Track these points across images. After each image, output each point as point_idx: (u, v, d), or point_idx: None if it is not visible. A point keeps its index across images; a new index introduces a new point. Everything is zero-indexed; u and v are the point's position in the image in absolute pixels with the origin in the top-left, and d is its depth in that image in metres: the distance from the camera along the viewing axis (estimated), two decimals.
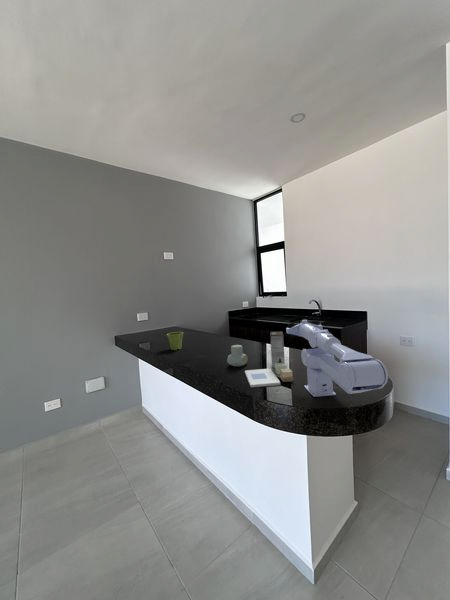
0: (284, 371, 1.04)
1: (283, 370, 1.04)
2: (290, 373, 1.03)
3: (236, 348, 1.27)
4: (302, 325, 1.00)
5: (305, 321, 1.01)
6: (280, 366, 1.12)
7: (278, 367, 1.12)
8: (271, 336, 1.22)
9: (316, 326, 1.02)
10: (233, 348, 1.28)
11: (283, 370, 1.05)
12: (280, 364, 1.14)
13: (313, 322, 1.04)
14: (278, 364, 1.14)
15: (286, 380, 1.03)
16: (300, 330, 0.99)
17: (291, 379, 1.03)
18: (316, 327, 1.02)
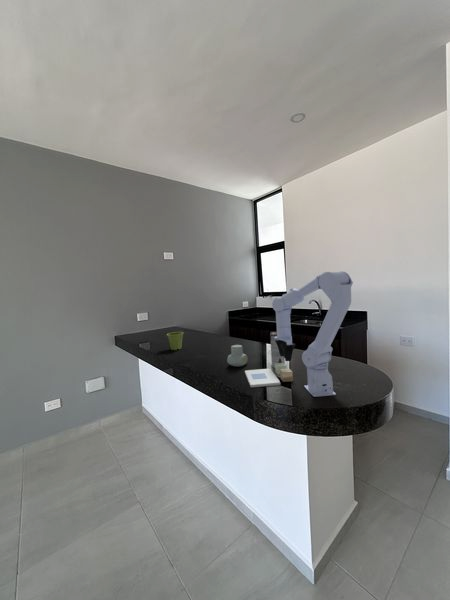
0: (284, 371, 1.04)
1: (283, 370, 1.04)
2: (290, 373, 1.03)
3: (236, 348, 1.27)
4: (279, 333, 1.02)
5: (275, 337, 1.04)
6: (280, 366, 1.12)
7: (278, 367, 1.12)
8: (271, 336, 1.22)
9: None
10: (233, 348, 1.28)
11: (283, 370, 1.05)
12: (280, 364, 1.14)
13: (276, 340, 1.09)
14: (278, 364, 1.14)
15: (286, 380, 1.03)
16: (284, 332, 1.01)
17: (291, 379, 1.03)
18: None
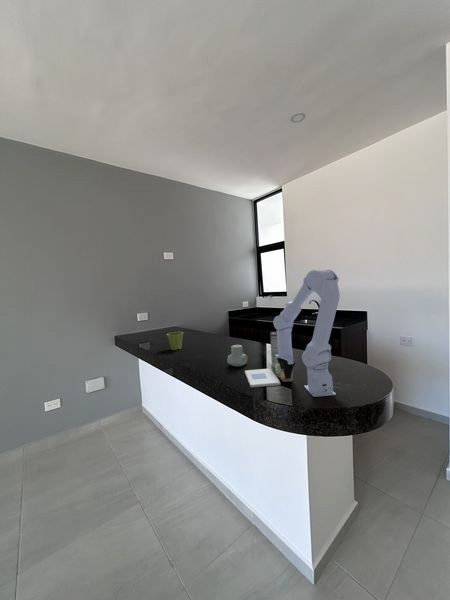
0: None
1: (283, 370, 1.04)
2: None
3: (236, 348, 1.27)
4: (280, 352, 1.03)
5: (277, 355, 1.05)
6: None
7: (278, 367, 1.12)
8: (271, 336, 1.22)
9: None
10: (233, 348, 1.28)
11: (283, 370, 1.05)
12: None
13: (278, 358, 1.07)
14: (278, 364, 1.14)
15: (286, 380, 1.03)
16: (285, 351, 1.02)
17: (291, 379, 1.03)
18: None
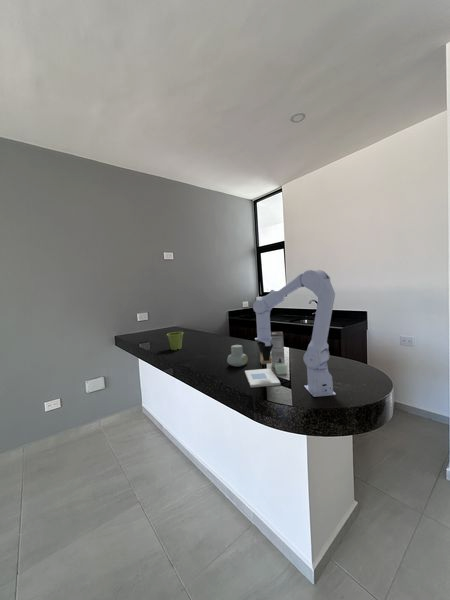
0: None
1: None
2: None
3: (236, 348, 1.27)
4: (259, 335, 1.05)
5: (256, 338, 1.07)
6: (280, 366, 1.12)
7: (278, 367, 1.12)
8: (271, 336, 1.22)
9: None
10: (233, 348, 1.28)
11: None
12: (280, 364, 1.14)
13: (258, 342, 1.10)
14: (278, 364, 1.14)
15: (265, 362, 1.05)
16: (264, 333, 1.04)
17: (270, 361, 1.05)
18: None
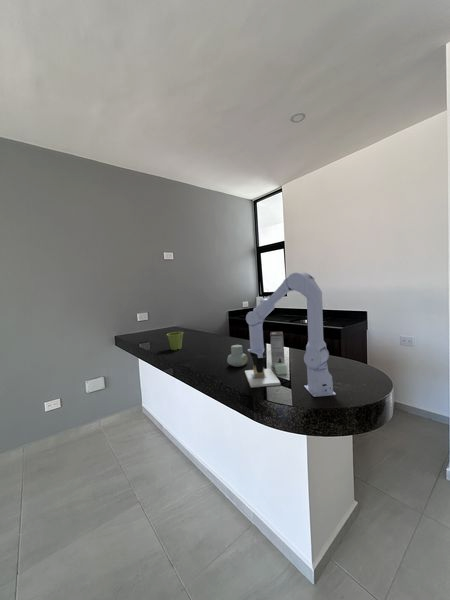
0: None
1: None
2: None
3: (236, 348, 1.27)
4: (252, 346, 1.06)
5: (249, 349, 1.08)
6: (280, 366, 1.12)
7: (278, 367, 1.12)
8: (271, 336, 1.22)
9: None
10: (233, 348, 1.28)
11: None
12: (280, 364, 1.14)
13: (251, 352, 1.12)
14: (278, 364, 1.14)
15: (258, 376, 1.06)
16: (256, 345, 1.05)
17: (263, 375, 1.06)
18: None
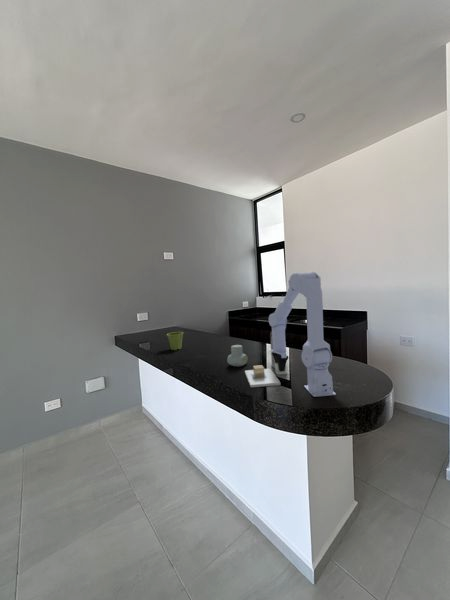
0: (256, 367, 1.07)
1: (256, 367, 1.08)
2: (262, 369, 1.06)
3: (236, 348, 1.27)
4: (275, 347, 1.12)
5: (271, 350, 1.14)
6: None
7: (278, 367, 1.12)
8: (271, 336, 1.22)
9: None
10: (233, 348, 1.28)
11: (256, 366, 1.09)
12: None
13: (273, 353, 1.16)
14: None
15: (258, 376, 1.06)
16: (279, 346, 1.11)
17: (263, 375, 1.06)
18: None
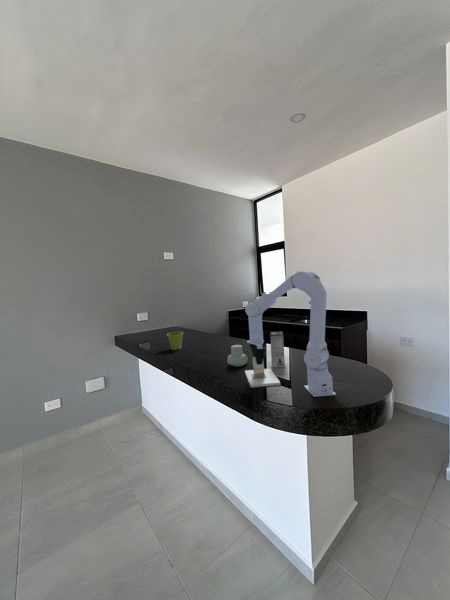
0: None
1: None
2: (262, 369, 1.06)
3: (236, 348, 1.27)
4: (251, 338, 1.06)
5: (248, 341, 1.08)
6: None
7: (255, 360, 1.06)
8: (271, 336, 1.22)
9: None
10: (233, 348, 1.28)
11: None
12: None
13: (250, 344, 1.12)
14: None
15: (258, 376, 1.06)
16: (256, 336, 1.05)
17: (263, 375, 1.06)
18: None
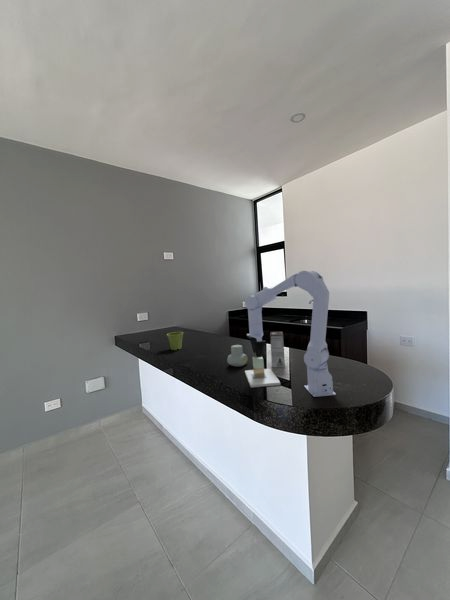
0: None
1: None
2: (262, 369, 1.06)
3: (236, 348, 1.27)
4: (251, 331, 1.06)
5: (248, 334, 1.08)
6: (257, 359, 1.06)
7: (255, 360, 1.06)
8: (271, 336, 1.22)
9: None
10: (233, 348, 1.28)
11: None
12: (257, 357, 1.08)
13: (249, 337, 1.12)
14: (255, 357, 1.08)
15: (258, 376, 1.06)
16: (255, 329, 1.05)
17: (263, 375, 1.06)
18: None
